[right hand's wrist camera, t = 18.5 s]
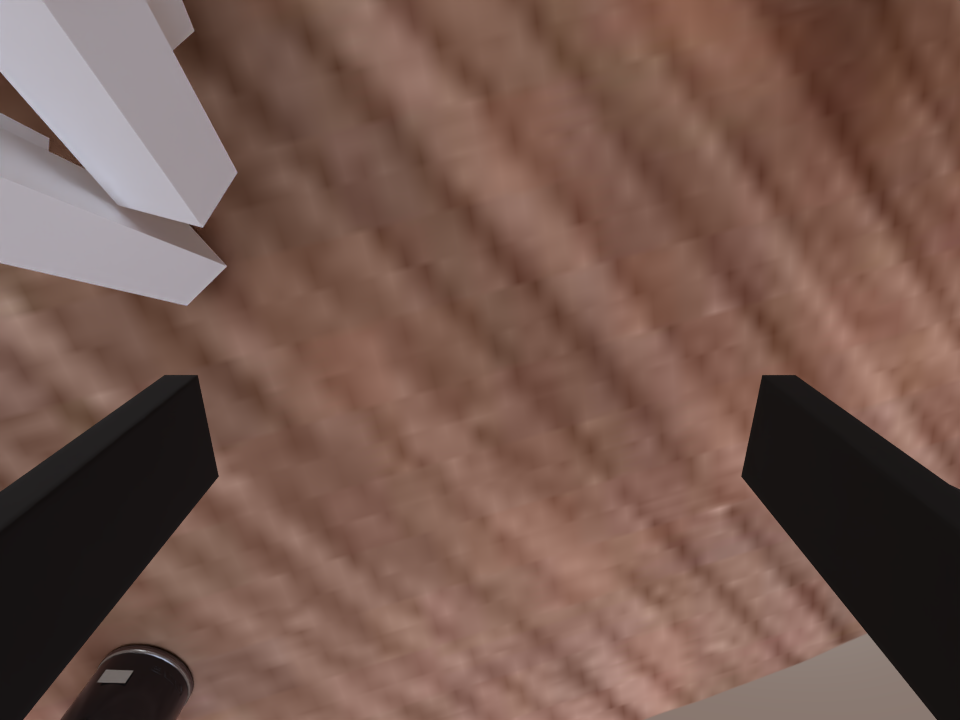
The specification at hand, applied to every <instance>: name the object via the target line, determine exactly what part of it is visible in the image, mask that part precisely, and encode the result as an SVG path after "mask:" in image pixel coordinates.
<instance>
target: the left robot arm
mask: <svg viewBox="0 0 960 720" xmlns="http://www.w3.org/2000/svg"><path fill="white" fill-rule="evenodd" d="M192 690H193V679H192V676H191V673H190V671H189V670H188V668H187V667H186V666H185V665H184V664H183V663H182V662H181V661H180V660H179V659H178V658H176V657H175V656H173V655H172V654H170V653H168V652H166V651H163V650H161V649H158V648H154V647H150V646H144V645H130V646H124V647H121V648H118V649H116V650H114V651H112V652H111V653H109V654H108V655H107V656H106V657H105V658H104V660H103V661H102V662H101V664H100V665H99V667H98V669H97V671H96V672H95V674H94V675H93V676H92V678H91V679H90V681H89V682H88V683H87V685H86V686H85V687H84V689H83V690H82V691H81V693H80V694H79V695H78V697H77V698H76V699H75V701H74V702H73V703H72V705H71V706H70V707H69V709H68V710H67V711H66V713H65V714H64V715H63V717H62V718H61V720H176V719H177V717H178V716H179V714H180V712H181V710H182V708H183V706H184V705H185V704H186V703H187V701H188V699H189V697H190V695H191V693H192Z"/></svg>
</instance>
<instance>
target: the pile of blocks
mask: <svg viewBox="0 0 960 720" xmlns="http://www.w3.org/2000/svg"><path fill="white" fill-rule="evenodd" d="M193 32H194V28H193V26H192V23H191V21H190V18H189V16H188V13H187V11H186V8H185V6H184V3H183V1H182V0H0V72H1V73H2V74H3V76H4V77H5V78H6V79H7V80H8V81H9V82H10V83H11V85H12V86H13V87H14V88H15V89H16V90H17V91H18V93H19V94H20V95H21V96H22V97H23V98H24V99H25V100H26V102H27V103H28V104H29V105H30V106H31V107H32V108H33V110H34V111H35V112H36V113H37V114H38V115H39V116H40V118H41V119H42V120H43V121H44V122H45V123H46V124H47V125H48V127H49V128H50V129H51V130H52V131H53V132H54V133H55V135H56V136H57V137H58V138H59V139H60V140H61V141H62V142H63V144H64V145H65V146H66V147H67V148H68V149H69V150H70V152H71V153H72V154H73V155H74V156H75V157H76V158H77V160H78V161H79V162H80V163H81V164H82V165H83V166H84V167H85V169H84V168H82V167H80V166H78V165H76V164H74V163H72V162H70V161H68V160H66V159H64V158H62V157H60V156H58V155H55V154H53V153H51V152H49V138H48V137H46V136H44V135H42V134H40V133H38V132H36V131H35V130H33V129H31V128H29V127H27V126H25V125H23V124H21V123H19V122H17V121H15V120H13V119H11V118H9V117H7V116H6V115H4V114H2V113H0V263H3V264H7V265H11V266H16V267H20V268H25V269H29V270H33V271H38V272H42V273H46V274H51V275H55V276H59V277H64V278H68V279H73V280H77V281H81V282H86V283H90V284H94V285H99V286H103V287H107V288H112V289H116V290H121V291H125V292H129V293H134V294H138V295H142V296H147V297H151V298H155V299H160V300H164V301H169V302H173V303H177V304H182V305H186V306H187V305H188V304H189V303H190V302H191V301H192V300H193V299H194V298H195V297H196V296H197V295H198V294H199V293H200V292H201V291H202V290H203V289H204V288H206V287H207V286H208V285H209V284H210V283H211V282H212V281H213V280H214V279H215V278H216V277H217V276H218V275H219V274H220V273H221V272H222V271H223V270H224V269H225V268H226V267H227V265H226V264H225V263H224V262H223V261H222V260H221V259H220V258H219V257H218V256H217V255H216V253H215V252H214V251H213V250H212V249H211V248H210V247H209V246H208V245H207V244H206V243H205V241H204V240H203V239H202V238H201V237H200V236H199V235H198V234H197V233H196V232H195V231H194V229H193V228H192V227H191V226H190V225H189V224H191V225H194V226H198V227H202V228H203V227H204V225H205V224H206V222H207V220H208V219H209V217H210V216H211V214H212V213H213V211H214V209H215V208H216V206H217V205H218V203H219V201H220V200H221V198H222V197H223V195H224V193H225V192H226V190H227V189H228V187H229V185H230V184H231V182H232V181H233V179H234V177H235V176H236V174H237V173H238V172H237V170H236V169H235V167H234V165H233V163H232V161H231V159H230V157H229V155H228V154H227V152H226V150H225V148H224V146H223V144H222V142H221V141H220V139H219V137H218V135H217V133H216V131H215V129H214V127H213V126H212V124H211V122H210V120H209V118H208V116H207V114H206V112H205V111H204V109H203V107H202V105H201V103H200V101H199V99H198V97H197V96H196V94H195V92H194V90H193V88H192V86H191V84H190V82H189V81H188V79H187V77H186V75H185V73H184V71H183V69H182V67H181V66H180V64H179V62H178V60H177V58H176V56H175V54H174V52H173V50H174V49H175V48H176V47H177V46H178V45H180V44H181V43H182V42H183V41H184V40H185V39H186V38H187V37H189V36H190V35H191V34H192V33H193Z"/></svg>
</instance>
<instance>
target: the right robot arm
mask: <svg viewBox="0 0 960 720" xmlns="http://www.w3.org/2000/svg"><path fill="white" fill-rule="evenodd" d="M218 477H219V476H218V471H217V466H216V461H215V457H214V452H213V447H212V442H211V437H210V433H209V428H208V423H207V418H206V413H205V408H204V404H203V399H202V394H201V389H200V384H199V379H198V375H164V376H163V377H161V378H160V379H159V380H157V381H156V382H154V383H153V384H152V385H150V386H149V387H147V388H146V389H145V390H143V391H142V392H140V393H139V394H138V395H136V396H135V397H133V398H132V399H131V400H129V401H128V402H126V403H125V404H123V405H122V406H121V407H119V408H118V409H116V410H115V411H114V412H112V413H111V414H109V415H108V416H107V417H105V418H104V419H102V420H101V421H100V422H98V423H97V424H95V425H94V426H92V427H91V428H90V429H88V430H87V431H85V432H84V433H83V434H81V435H80V436H78V437H77V438H76V439H74V440H73V441H71V442H70V443H69V444H67V445H66V446H64V447H63V448H62V449H60V450H59V451H57V452H56V453H54V454H53V455H52V456H50V457H49V458H47V459H46V460H45V461H43V462H42V463H40V464H39V465H38V466H36V467H35V468H33V469H32V470H31V471H29V472H28V473H26V474H25V475H23V476H22V477H21V478H19V479H18V480H16V481H15V482H14V483H12V484H11V485H9V486H8V487H7V488H5V489H4V490H2V491H1V492H0V720H23V719H24V718H25V717H26V715H27V714H28V713H29V712H30V710H31V709H32V708H33V707H34V705H35V704H36V703H37V702H38V700H39V699H40V698H41V697H42V696H43V694H44V693H45V692H46V691H47V689H48V688H49V687H50V686H51V684H52V683H53V682H54V681H55V679H56V678H57V677H58V676H59V674H60V673H61V672H62V671H63V669H64V668H65V667H66V666H67V664H68V663H69V662H70V661H71V659H72V658H73V657H74V656H75V654H76V653H77V652H78V651H79V649H80V648H81V647H82V646H83V645H84V643H85V642H86V641H87V640H88V638H89V637H90V636H91V635H92V633H93V632H94V631H95V630H96V628H97V627H98V626H99V625H100V623H101V622H102V621H103V620H104V618H105V617H106V616H107V615H108V613H109V612H110V611H111V610H112V608H113V607H114V606H115V605H116V603H117V602H118V601H119V600H120V598H121V597H122V596H123V595H124V593H125V592H126V591H127V590H128V589H129V587H130V586H131V585H132V584H133V582H134V581H135V580H136V579H137V577H138V576H139V575H140V574H141V572H142V571H143V570H144V569H145V567H146V566H147V565H148V564H149V562H150V561H151V560H152V559H153V557H154V556H155V555H156V554H157V552H158V551H159V550H160V549H161V547H162V546H163V545H164V544H165V542H166V541H167V540H168V539H169V538H170V536H171V535H172V534H173V533H174V531H175V530H176V529H177V528H178V526H179V525H180V524H181V523H182V521H183V520H184V519H185V518H186V516H187V515H188V514H189V513H190V511H191V510H192V509H193V508H194V506H195V505H196V504H197V503H198V501H199V500H200V499H201V498H202V496H203V495H204V494H205V493H206V491H207V490H208V489H209V488H210V487H211V485H212V484H213V483H214V482H215V480H216V479H217V478H218ZM741 477H742V478H743V479H744V480H745V482H746V483H747V484H748V485H749V487H750V488H751V489H752V490H753V491H754V493H755V494H756V495H757V496H758V498H759V499H760V500H761V501H762V503H763V504H764V505H765V506H766V508H767V509H768V510H769V511H770V513H771V514H772V515H773V516H774V518H775V519H776V520H777V521H778V523H779V524H780V525H781V526H782V528H783V529H784V530H785V531H786V533H787V534H788V535H789V536H790V538H791V539H792V540H793V541H794V542H795V544H796V545H797V546H798V547H799V549H800V550H801V551H802V552H803V554H804V555H805V556H806V557H807V559H808V560H809V561H810V562H811V564H812V565H813V566H814V567H815V569H816V570H817V571H818V572H819V574H820V575H821V576H822V577H823V579H824V580H825V581H826V582H827V584H828V585H829V586H830V587H831V589H832V590H833V591H834V592H835V594H836V595H837V596H838V597H839V598H840V600H841V601H842V602H843V603H844V605H845V606H846V607H847V608H848V610H849V611H850V612H851V613H852V615H853V616H854V617H855V618H856V620H857V621H858V622H859V623H860V625H861V626H862V627H863V628H864V630H865V631H866V632H867V633H868V635H869V636H870V637H871V638H872V640H873V641H874V642H875V643H876V645H877V646H878V647H879V648H880V649H881V651H882V652H883V653H884V654H885V656H886V657H887V658H888V659H889V661H890V662H891V663H892V664H893V666H894V667H895V668H896V669H897V671H898V672H899V673H900V674H901V676H902V677H903V678H904V679H905V681H906V682H907V683H908V684H909V686H910V687H911V688H912V689H913V691H914V692H915V693H916V694H917V695H918V697H919V698H920V699H921V700H922V702H923V703H924V704H925V705H926V707H927V708H928V709H929V710H930V712H931V713H932V714H933V715H934V717H935V718H936V719H937V720H960V489H958V488H956V487H954V486H952V485H949V484H948V483H946V482H945V481H944V480H942V479H941V478H939V477H938V476H937V475H935V474H934V473H932V472H931V471H929V470H928V469H927V468H925V467H924V466H922V465H921V464H920V463H918V462H917V461H915V460H914V459H913V458H911V457H910V456H908V455H907V454H906V453H904V452H903V451H901V450H900V449H898V448H897V447H896V446H894V445H893V444H891V443H890V442H889V441H887V440H886V439H884V438H883V437H882V436H880V435H879V434H877V433H876V432H875V431H873V430H872V429H870V428H869V427H868V426H866V425H865V424H863V423H862V422H860V421H859V420H858V419H856V418H855V417H853V416H852V415H851V414H849V413H848V412H846V411H845V410H844V409H842V408H841V407H839V406H838V405H837V404H835V403H834V402H832V401H831V400H829V399H828V398H827V397H825V396H824V395H822V394H821V393H820V392H818V391H817V390H815V389H814V388H813V387H811V386H810V385H808V384H807V383H806V382H804V381H803V380H801V379H800V378H799V377H797V376H796V375H762V379H761V384H760V389H759V394H758V399H757V404H756V408H755V413H754V418H753V423H752V428H751V433H750V437H749V442H748V447H747V452H746V457H745V461H744V466H743V471H742V476H741Z"/></svg>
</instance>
